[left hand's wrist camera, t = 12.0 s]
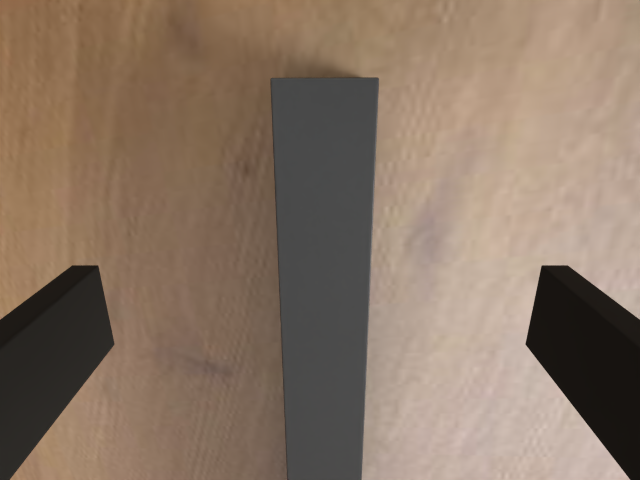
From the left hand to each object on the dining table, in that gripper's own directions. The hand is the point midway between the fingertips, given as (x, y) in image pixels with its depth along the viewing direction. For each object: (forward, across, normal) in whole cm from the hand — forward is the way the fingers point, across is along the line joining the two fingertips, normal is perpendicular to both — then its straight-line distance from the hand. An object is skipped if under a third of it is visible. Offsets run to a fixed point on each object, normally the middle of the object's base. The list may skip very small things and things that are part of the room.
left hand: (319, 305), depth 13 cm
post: (+21, 0, -34) cm, 40 cm away
